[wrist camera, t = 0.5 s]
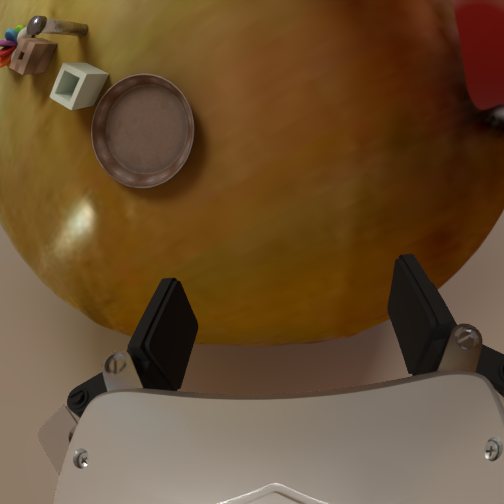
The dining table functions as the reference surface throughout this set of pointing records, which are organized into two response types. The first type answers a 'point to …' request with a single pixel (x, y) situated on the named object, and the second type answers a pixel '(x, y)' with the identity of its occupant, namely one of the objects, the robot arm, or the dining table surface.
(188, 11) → the dining table surface
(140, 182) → the plant saucer
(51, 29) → the cylinder
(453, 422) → the robot arm
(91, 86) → the wide bore block
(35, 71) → the narrow block
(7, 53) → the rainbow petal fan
